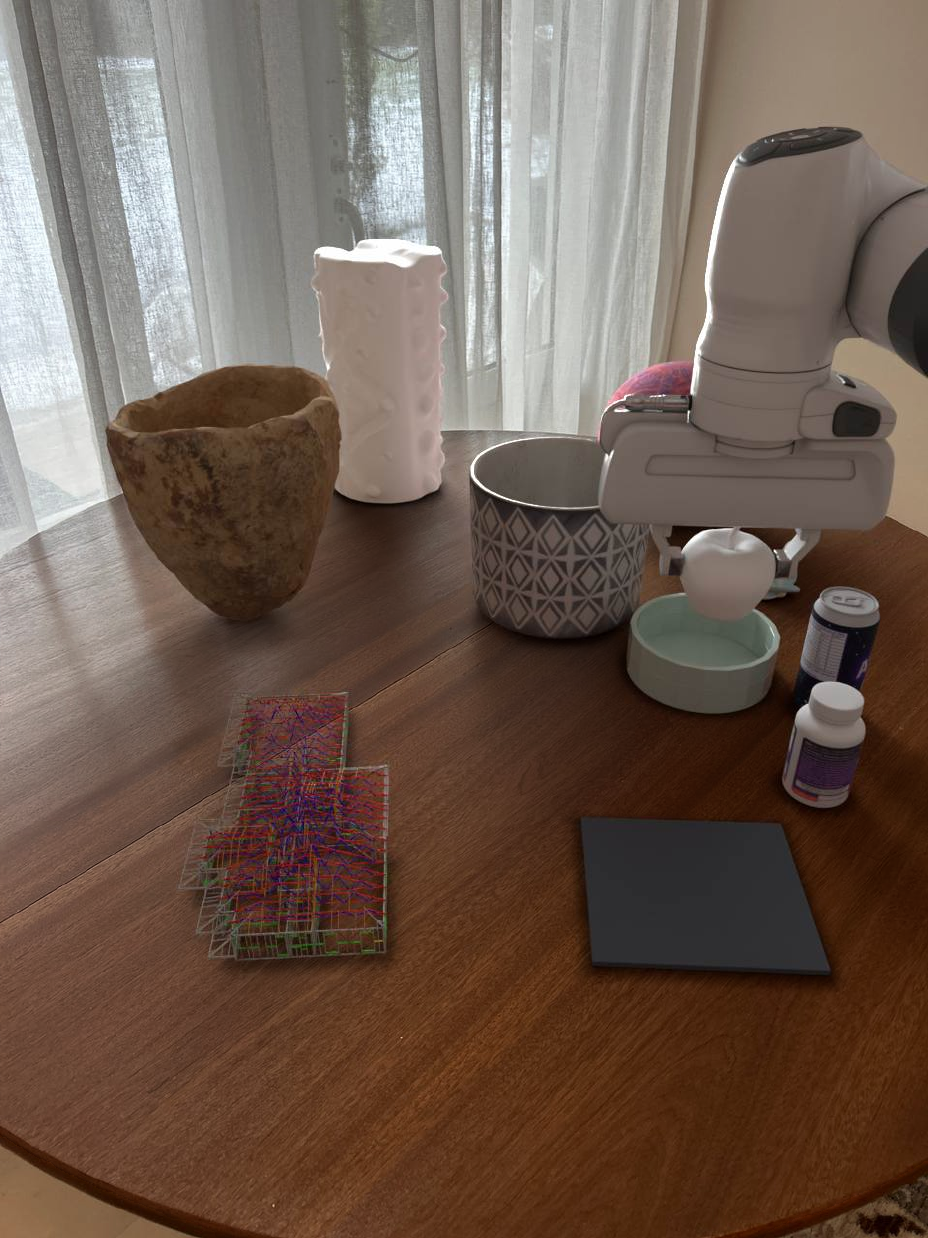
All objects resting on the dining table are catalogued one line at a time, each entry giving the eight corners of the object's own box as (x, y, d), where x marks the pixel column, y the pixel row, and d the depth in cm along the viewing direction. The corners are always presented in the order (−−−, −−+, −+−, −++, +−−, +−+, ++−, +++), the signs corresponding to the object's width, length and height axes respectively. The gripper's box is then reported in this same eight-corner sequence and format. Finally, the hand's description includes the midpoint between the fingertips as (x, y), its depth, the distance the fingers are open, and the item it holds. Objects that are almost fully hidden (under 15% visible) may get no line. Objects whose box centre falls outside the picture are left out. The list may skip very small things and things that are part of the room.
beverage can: (853, 733, 85) (884, 621, 79) (789, 720, 87) (814, 609, 80) (854, 698, 89) (883, 590, 83) (792, 686, 91) (816, 579, 85)
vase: (307, 481, 135) (284, 247, 118) (394, 452, 144) (384, 232, 127) (380, 517, 124) (366, 267, 107) (468, 484, 134) (468, 249, 117)
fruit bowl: (753, 634, 99) (761, 594, 97) (786, 715, 87) (796, 672, 84) (620, 631, 100) (624, 591, 97) (634, 711, 88) (639, 668, 85)
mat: (780, 827, 75) (781, 823, 74) (829, 975, 63) (831, 971, 62) (580, 821, 75) (581, 816, 75) (592, 966, 63) (592, 961, 63)
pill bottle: (861, 802, 77) (889, 709, 72) (805, 816, 76) (829, 721, 71) (822, 762, 81) (845, 670, 76) (768, 773, 80) (788, 682, 75)
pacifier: (743, 603, 105) (799, 607, 104) (750, 554, 102) (808, 558, 101) (741, 573, 111) (794, 576, 110) (748, 525, 108) (802, 528, 107)
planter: (491, 664, 95) (493, 517, 86) (454, 574, 111) (452, 443, 102) (668, 642, 98) (687, 499, 89) (607, 558, 114) (618, 430, 105)
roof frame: (231, 711, 88) (224, 666, 85) (391, 705, 89) (389, 660, 86) (164, 983, 62) (150, 931, 60) (389, 971, 63) (385, 919, 60)
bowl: (203, 554, 115) (168, 353, 102) (375, 571, 112) (363, 364, 98) (108, 652, 97) (51, 421, 84) (312, 677, 93) (286, 439, 80)
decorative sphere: (567, 521, 123) (576, 372, 112) (627, 471, 137) (640, 335, 127) (713, 558, 114) (738, 399, 103) (761, 500, 128) (787, 356, 118)
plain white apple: (769, 639, 69) (789, 542, 65) (671, 628, 70) (685, 533, 66) (763, 592, 75) (781, 501, 70) (673, 583, 76) (686, 493, 72)
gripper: (606, 408, 61) (591, 590, 68) (923, 415, 60) (874, 599, 67) (600, 379, 67) (586, 551, 74) (891, 385, 66) (848, 558, 73)
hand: (726, 574), depth 71 cm, fingers closed on plain white apple, 7 cm apart
